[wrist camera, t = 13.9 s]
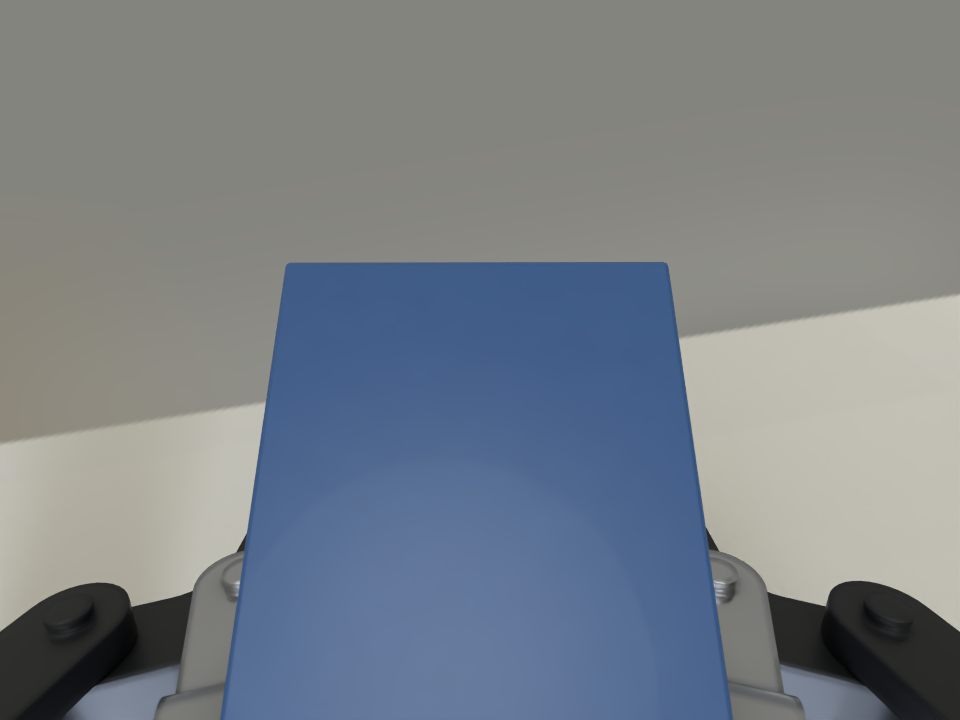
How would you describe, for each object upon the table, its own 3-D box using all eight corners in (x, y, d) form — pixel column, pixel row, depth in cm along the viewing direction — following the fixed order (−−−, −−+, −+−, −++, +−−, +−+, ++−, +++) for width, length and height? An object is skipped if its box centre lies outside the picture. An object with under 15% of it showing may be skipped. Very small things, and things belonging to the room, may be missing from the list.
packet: (384, 729, 14) (185, 937, 5) (397, 472, 17) (284, 260, 7) (574, 729, 14) (767, 937, 5) (560, 472, 17) (668, 260, 7)
